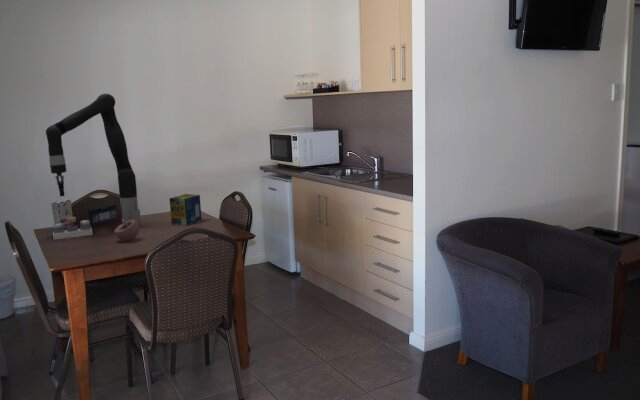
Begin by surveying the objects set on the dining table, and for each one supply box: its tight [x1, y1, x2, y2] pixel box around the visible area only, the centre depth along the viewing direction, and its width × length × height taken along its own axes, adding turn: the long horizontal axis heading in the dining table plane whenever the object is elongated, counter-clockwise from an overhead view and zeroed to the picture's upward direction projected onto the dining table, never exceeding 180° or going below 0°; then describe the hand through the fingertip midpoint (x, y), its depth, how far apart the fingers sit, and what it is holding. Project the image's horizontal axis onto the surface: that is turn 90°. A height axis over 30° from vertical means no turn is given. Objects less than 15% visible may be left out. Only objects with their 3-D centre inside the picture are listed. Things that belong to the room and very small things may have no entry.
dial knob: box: [67, 216, 77, 226], centre depth 298 cm, size 4×4×5 cm
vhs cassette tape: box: [87, 204, 119, 227], centre depth 331 cm, size 18×3×10 cm, turn 148°
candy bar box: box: [51, 199, 75, 230], centre depth 317 cm, size 11×5×16 cm, turn 168°
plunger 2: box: [80, 219, 90, 226], centre depth 301 cm, size 4×4×4 cm
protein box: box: [169, 193, 202, 226], centre depth 322 cm, size 10×15×16 cm
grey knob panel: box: [52, 224, 93, 241], centre depth 299 cm, size 19×7×5 cm, turn 115°
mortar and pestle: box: [113, 218, 140, 242], centre depth 281 cm, size 12×12×11 cm
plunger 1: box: [53, 223, 63, 230], centre depth 296 cm, size 4×4×4 cm
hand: (62, 195), depth 299 cm, fingers closed
